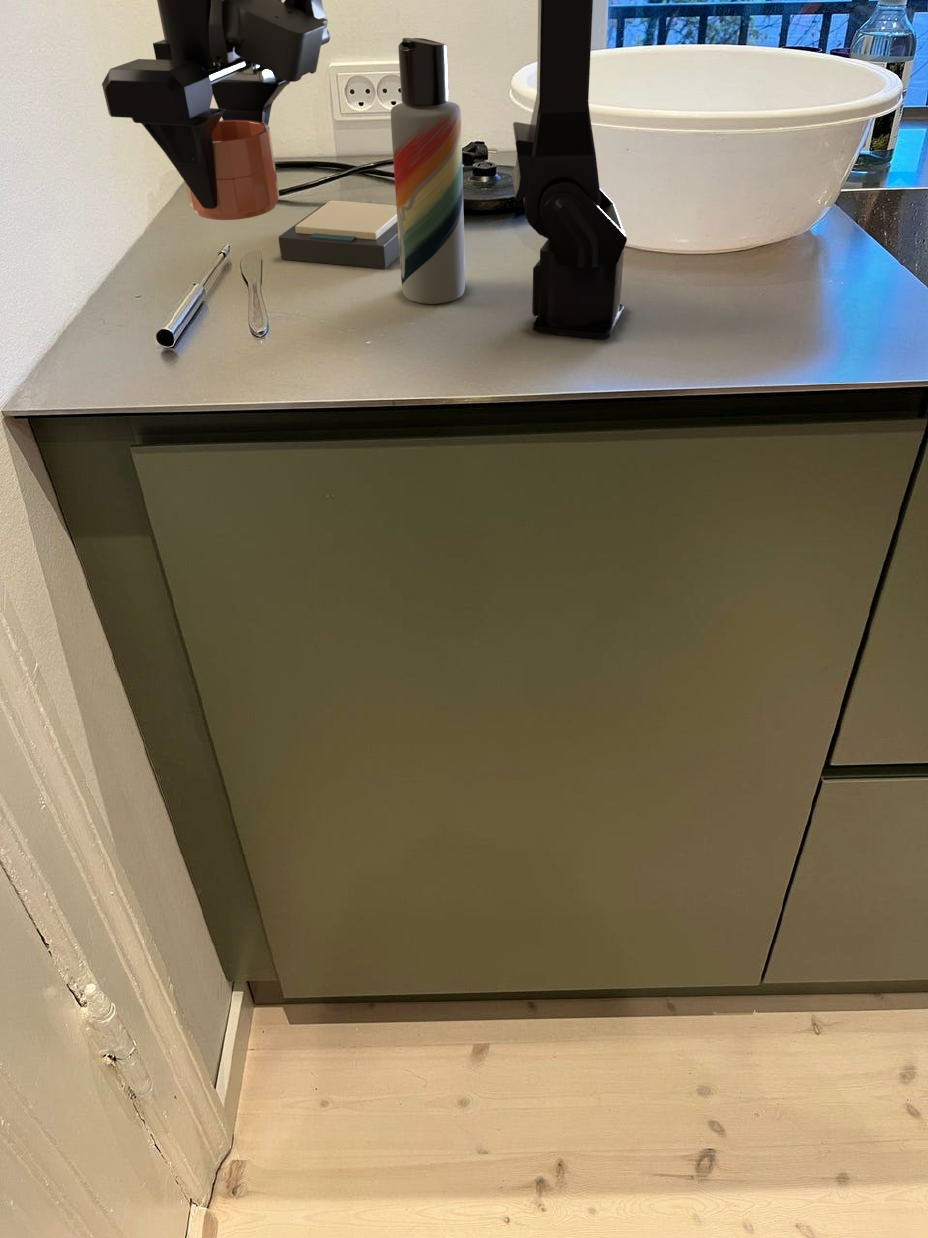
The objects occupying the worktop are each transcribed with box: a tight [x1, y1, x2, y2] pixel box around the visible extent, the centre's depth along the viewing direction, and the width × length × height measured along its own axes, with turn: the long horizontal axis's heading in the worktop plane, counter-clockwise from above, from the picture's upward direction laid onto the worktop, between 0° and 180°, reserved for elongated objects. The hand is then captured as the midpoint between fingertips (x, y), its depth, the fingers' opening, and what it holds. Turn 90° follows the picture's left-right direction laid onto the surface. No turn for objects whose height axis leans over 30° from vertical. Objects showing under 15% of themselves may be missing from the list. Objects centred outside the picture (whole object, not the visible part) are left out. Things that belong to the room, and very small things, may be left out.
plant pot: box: [184, 119, 280, 221], centre depth 74 cm, size 7×7×6 cm
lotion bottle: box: [390, 37, 466, 305], centre depth 81 cm, size 6×6×20 cm
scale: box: [278, 199, 400, 270], centre depth 97 cm, size 11×11×3 cm
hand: (232, 193), depth 75 cm, fingers closed on plant pot, 7 cm apart
